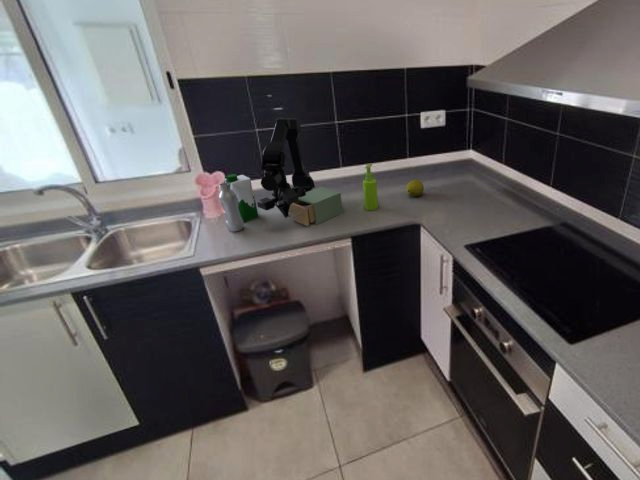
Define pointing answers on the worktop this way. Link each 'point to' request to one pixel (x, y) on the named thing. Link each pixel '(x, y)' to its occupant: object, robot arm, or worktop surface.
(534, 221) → the worktop surface
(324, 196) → the green drawer box
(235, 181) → the milk carton
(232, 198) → the plastic bottle
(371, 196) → the soap dispenser
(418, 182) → the lemon
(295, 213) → the drawer
